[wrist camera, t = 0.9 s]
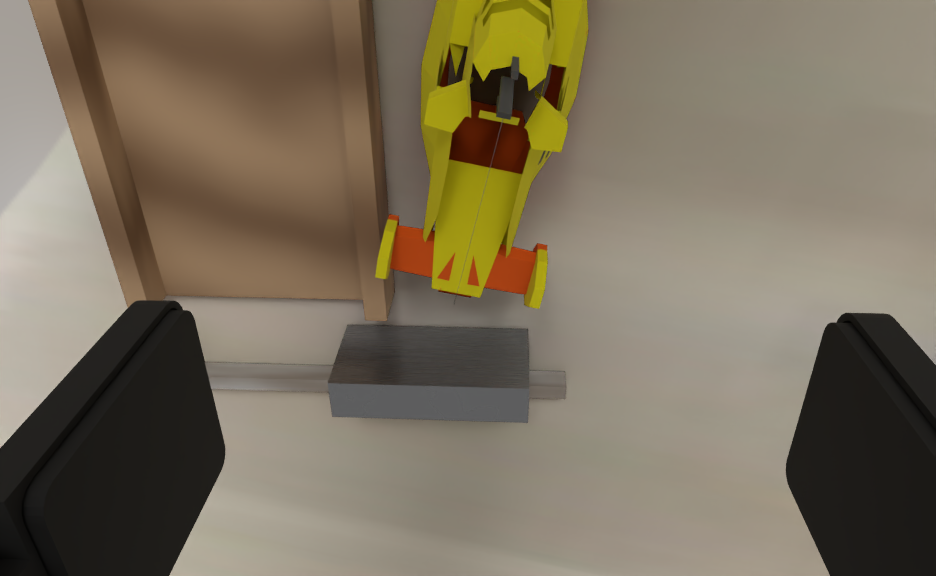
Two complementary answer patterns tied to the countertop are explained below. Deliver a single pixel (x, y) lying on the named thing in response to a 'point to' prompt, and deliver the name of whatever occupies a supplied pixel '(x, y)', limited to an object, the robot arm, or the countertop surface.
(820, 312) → the countertop surface
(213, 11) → the bay
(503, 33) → the toy boat
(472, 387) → the grey rectangular block
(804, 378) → the countertop surface
